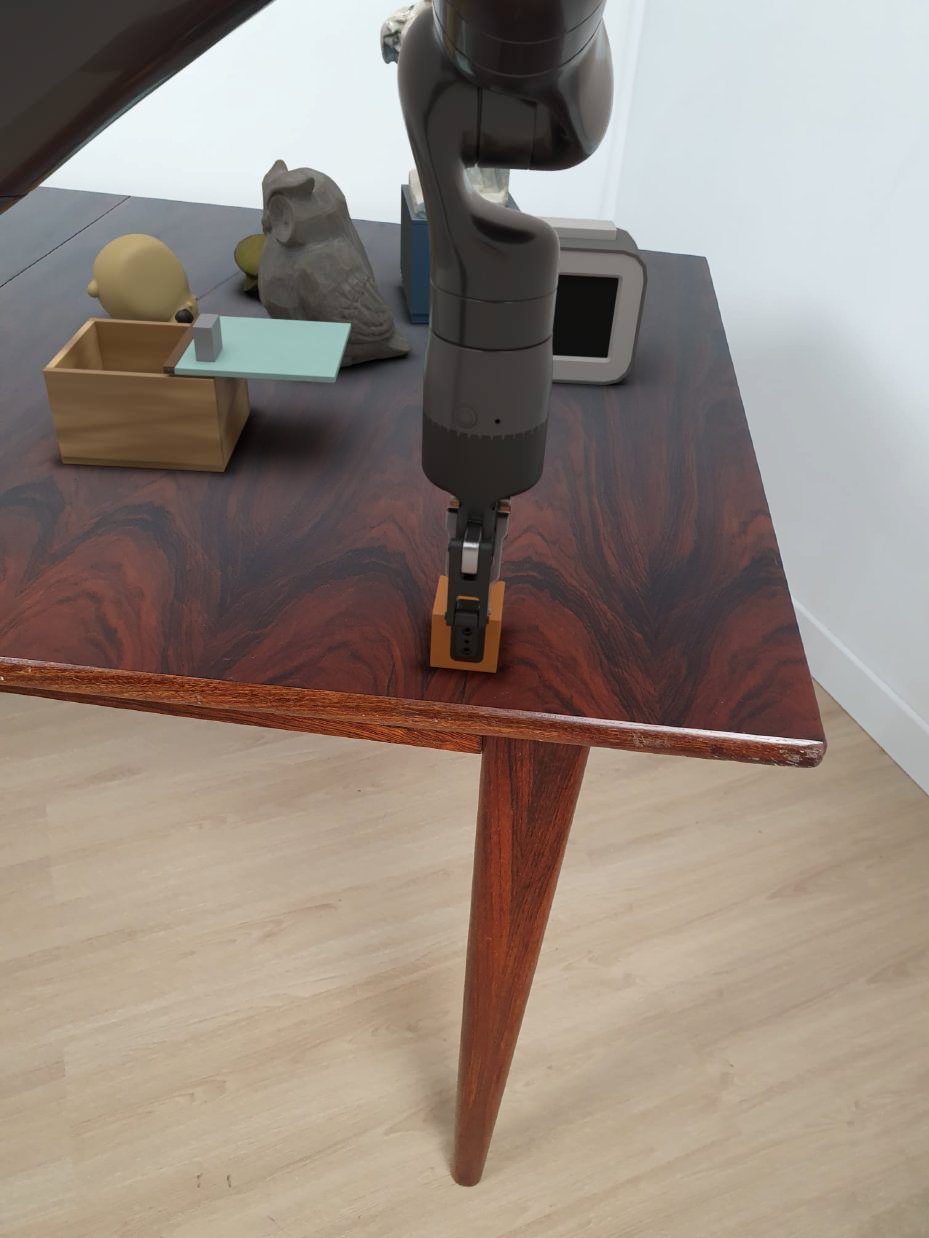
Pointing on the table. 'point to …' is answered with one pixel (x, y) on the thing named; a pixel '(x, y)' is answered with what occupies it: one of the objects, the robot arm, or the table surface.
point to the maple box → (140, 401)
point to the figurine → (321, 264)
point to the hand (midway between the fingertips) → (472, 620)
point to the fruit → (250, 259)
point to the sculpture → (413, 213)
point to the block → (443, 632)
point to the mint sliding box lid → (260, 349)
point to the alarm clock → (596, 301)
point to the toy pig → (142, 282)
